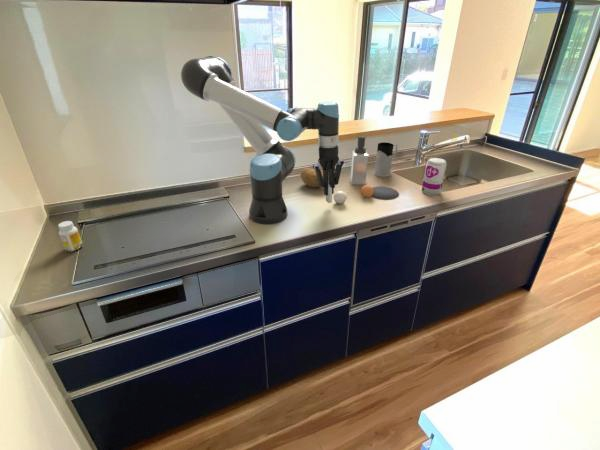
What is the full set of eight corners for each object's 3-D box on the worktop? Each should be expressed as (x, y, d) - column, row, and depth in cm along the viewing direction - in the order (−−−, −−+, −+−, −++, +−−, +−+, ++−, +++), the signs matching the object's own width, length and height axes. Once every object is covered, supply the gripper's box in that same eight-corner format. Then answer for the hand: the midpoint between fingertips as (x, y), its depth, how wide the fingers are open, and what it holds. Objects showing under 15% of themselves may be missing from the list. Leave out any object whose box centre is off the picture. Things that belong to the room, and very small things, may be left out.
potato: (319, 193, 155) (319, 177, 151) (296, 185, 163) (295, 169, 159) (332, 187, 161) (332, 171, 157) (309, 179, 170) (309, 164, 166)
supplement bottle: (64, 254, 114) (54, 229, 110) (66, 245, 119) (56, 221, 114) (82, 250, 116) (73, 225, 111) (84, 242, 121) (75, 218, 116)
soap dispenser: (363, 177, 171) (367, 133, 160) (365, 184, 164) (369, 138, 153) (350, 177, 172) (353, 133, 161) (351, 184, 164) (355, 138, 153)
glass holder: (369, 173, 177) (372, 144, 169) (387, 166, 184) (390, 139, 177) (383, 178, 171) (387, 148, 163) (400, 171, 179) (405, 142, 171)
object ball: (365, 200, 149) (366, 188, 146) (357, 195, 153) (358, 184, 150) (375, 198, 151) (376, 186, 148) (367, 193, 155) (369, 182, 152)
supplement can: (433, 197, 151) (440, 164, 144) (417, 191, 157) (423, 159, 149) (444, 192, 155) (451, 160, 148) (428, 186, 161) (434, 156, 153)
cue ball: (337, 207, 143) (338, 195, 140) (330, 202, 147) (331, 190, 145) (348, 204, 145) (349, 192, 143) (341, 199, 150) (342, 187, 147)
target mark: (380, 202, 147) (380, 201, 147) (361, 190, 158) (361, 189, 158) (405, 195, 152) (405, 195, 152) (385, 184, 163) (385, 184, 163)
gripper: (317, 150, 125) (318, 208, 137) (348, 144, 130) (347, 201, 141) (308, 145, 131) (310, 201, 143) (338, 140, 136) (337, 195, 147)
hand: (328, 201), depth 142 cm, fingers closed
